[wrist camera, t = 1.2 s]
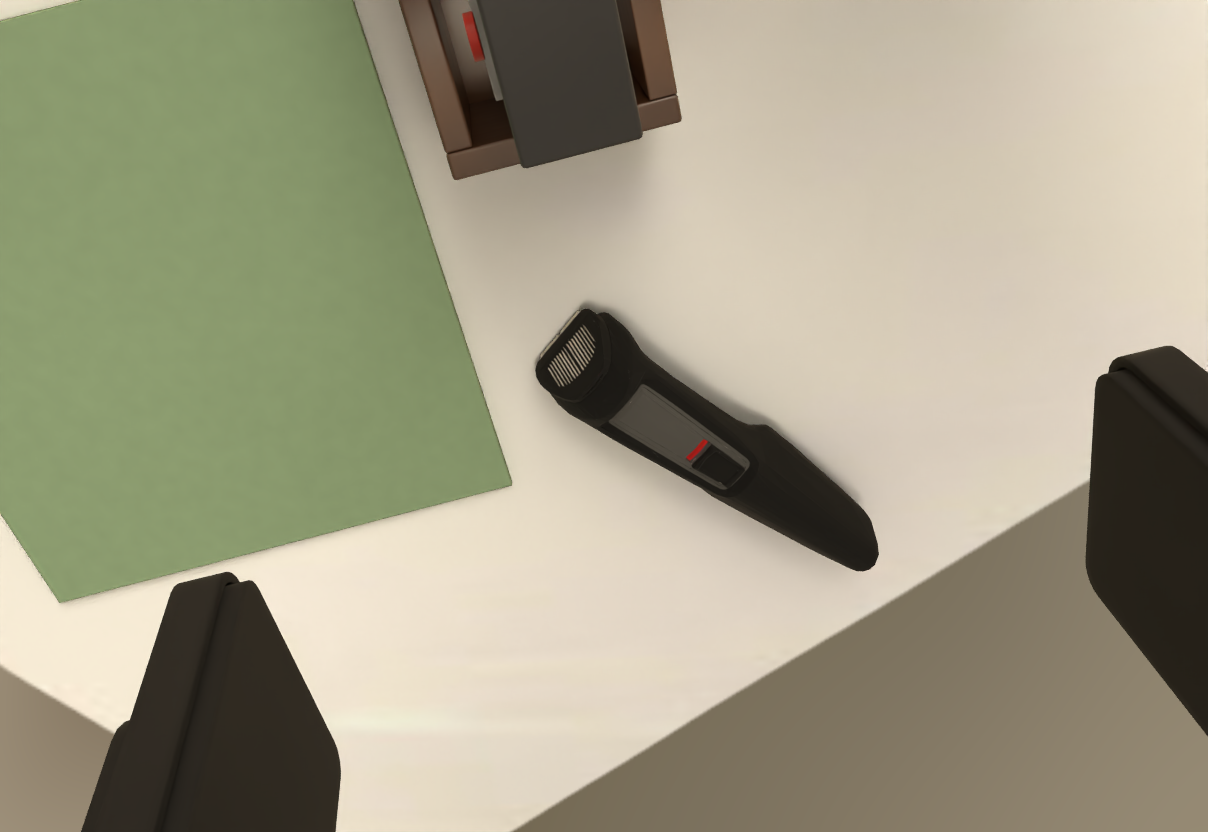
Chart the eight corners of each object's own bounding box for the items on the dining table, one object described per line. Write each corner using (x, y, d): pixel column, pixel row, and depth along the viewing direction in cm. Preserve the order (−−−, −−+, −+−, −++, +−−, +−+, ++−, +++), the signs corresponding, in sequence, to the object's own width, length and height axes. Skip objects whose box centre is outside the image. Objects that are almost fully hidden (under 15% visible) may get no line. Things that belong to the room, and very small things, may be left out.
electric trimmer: (815, 553, 46) (839, 603, 43) (526, 370, 39) (534, 415, 37) (878, 493, 45) (907, 540, 42) (591, 293, 38) (604, 334, 35)
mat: (-272, 91, 31) (-278, 94, 31) (331, -66, 31) (330, -65, 31) (61, 598, 42) (59, 603, 42) (511, 481, 42) (512, 485, 41)
